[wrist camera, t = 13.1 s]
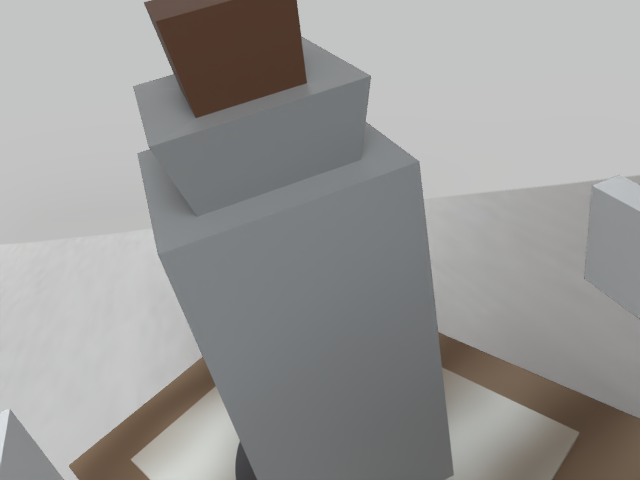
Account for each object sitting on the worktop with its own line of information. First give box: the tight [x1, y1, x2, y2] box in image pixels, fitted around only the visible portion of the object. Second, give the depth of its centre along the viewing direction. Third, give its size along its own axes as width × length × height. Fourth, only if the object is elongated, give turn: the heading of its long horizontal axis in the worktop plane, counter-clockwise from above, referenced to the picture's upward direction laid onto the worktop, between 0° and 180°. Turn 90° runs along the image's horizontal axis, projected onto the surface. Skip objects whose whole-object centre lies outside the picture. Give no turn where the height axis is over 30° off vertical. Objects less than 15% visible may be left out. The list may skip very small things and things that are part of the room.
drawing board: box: [69, 333, 640, 480], centre depth 24 cm, size 20×16×2 cm
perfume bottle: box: [133, 0, 454, 480], centre depth 19 cm, size 7×7×18 cm
